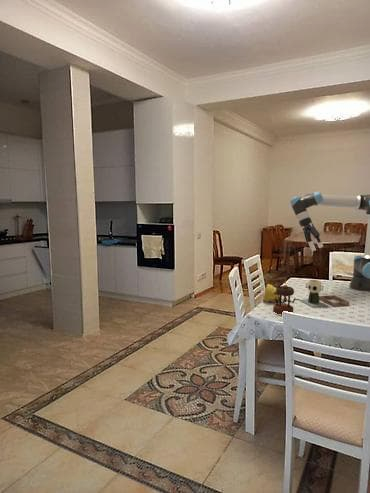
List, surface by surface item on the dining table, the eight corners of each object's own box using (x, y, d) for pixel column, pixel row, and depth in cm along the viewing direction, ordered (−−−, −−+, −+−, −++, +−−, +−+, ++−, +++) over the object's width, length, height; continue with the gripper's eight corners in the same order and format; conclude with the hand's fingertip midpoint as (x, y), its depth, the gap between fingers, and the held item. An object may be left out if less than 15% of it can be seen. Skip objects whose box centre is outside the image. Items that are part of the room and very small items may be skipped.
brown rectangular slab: (333, 298, 216) (333, 295, 216) (349, 305, 202) (349, 301, 202) (318, 299, 214) (318, 295, 214) (332, 306, 200) (332, 302, 200)
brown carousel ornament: (283, 292, 201) (266, 287, 203) (278, 308, 203) (261, 302, 206) (284, 286, 210) (268, 281, 213) (279, 301, 213) (263, 296, 216)
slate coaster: (314, 299, 213) (314, 298, 213) (328, 306, 200) (328, 305, 200) (299, 300, 211) (299, 299, 211) (312, 307, 198) (312, 306, 198)
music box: (266, 313, 188) (269, 276, 186) (274, 309, 197) (276, 274, 196) (295, 318, 179) (298, 279, 178) (301, 314, 188) (304, 277, 187)
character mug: (302, 301, 207) (303, 280, 206) (307, 299, 212) (309, 278, 210) (319, 305, 199) (320, 283, 198) (325, 303, 204) (326, 281, 202)
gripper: (293, 225, 240) (306, 253, 237) (304, 216, 215) (318, 248, 212) (303, 221, 240) (316, 249, 237) (315, 212, 215) (330, 243, 212)
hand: (317, 249), depth 224 cm, fingers open, 13 cm apart
